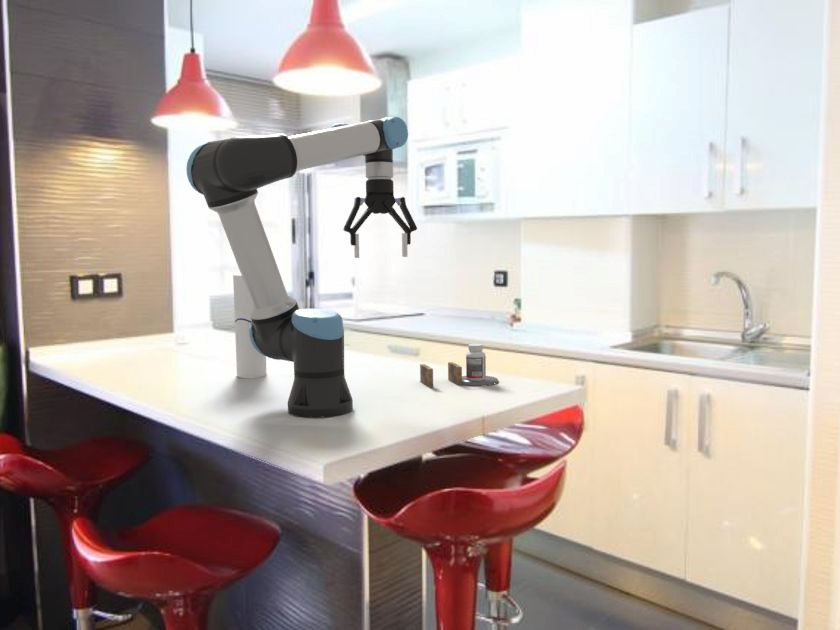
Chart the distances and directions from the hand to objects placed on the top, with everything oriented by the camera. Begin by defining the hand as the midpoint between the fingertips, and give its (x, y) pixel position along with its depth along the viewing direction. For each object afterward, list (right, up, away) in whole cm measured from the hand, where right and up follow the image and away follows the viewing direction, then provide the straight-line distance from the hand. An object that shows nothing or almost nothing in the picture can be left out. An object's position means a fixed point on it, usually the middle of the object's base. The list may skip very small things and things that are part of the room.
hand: (381, 257), depth 193 cm
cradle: (+16, -35, -1) cm, 38 cm away
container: (-39, -34, +15) cm, 54 cm away
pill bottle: (+26, -34, +1) cm, 43 cm away
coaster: (+26, -34, +1) cm, 43 cm away
